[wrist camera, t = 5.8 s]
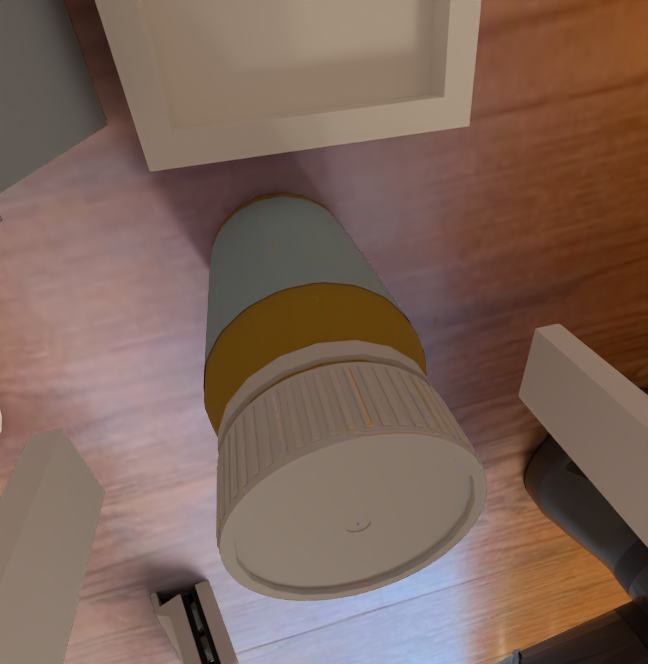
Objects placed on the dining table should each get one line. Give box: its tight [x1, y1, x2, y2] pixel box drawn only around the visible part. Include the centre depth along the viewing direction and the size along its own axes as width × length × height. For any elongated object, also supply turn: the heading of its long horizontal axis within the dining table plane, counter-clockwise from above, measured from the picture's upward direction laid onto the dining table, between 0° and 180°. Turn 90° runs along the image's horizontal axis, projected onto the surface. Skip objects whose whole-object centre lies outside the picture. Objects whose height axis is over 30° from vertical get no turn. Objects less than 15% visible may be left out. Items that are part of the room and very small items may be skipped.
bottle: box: [204, 193, 487, 601], centre depth 15 cm, size 7×7×15 cm
